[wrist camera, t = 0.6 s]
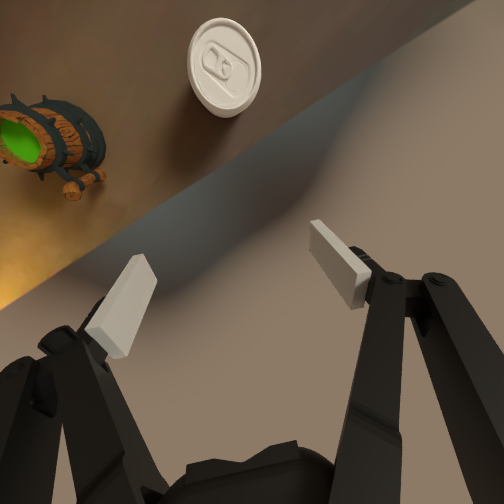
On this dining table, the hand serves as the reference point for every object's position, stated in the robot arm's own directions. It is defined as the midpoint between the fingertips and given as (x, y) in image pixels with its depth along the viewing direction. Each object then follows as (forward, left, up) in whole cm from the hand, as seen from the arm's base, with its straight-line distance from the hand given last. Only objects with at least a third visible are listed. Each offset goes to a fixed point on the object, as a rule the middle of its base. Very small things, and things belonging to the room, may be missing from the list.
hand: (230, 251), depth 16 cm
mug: (-12, -21, -27) cm, 36 cm away
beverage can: (-13, +4, -27) cm, 30 cm away
